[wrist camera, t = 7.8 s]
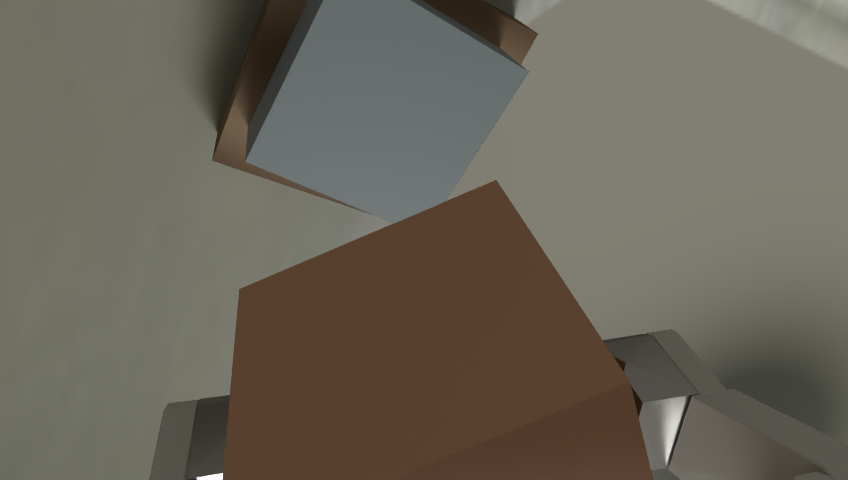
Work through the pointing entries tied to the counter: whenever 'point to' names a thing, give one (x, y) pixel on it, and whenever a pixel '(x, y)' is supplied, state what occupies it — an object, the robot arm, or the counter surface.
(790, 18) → the counter surface
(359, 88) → the grey block
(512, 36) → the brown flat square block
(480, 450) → the rust cube
